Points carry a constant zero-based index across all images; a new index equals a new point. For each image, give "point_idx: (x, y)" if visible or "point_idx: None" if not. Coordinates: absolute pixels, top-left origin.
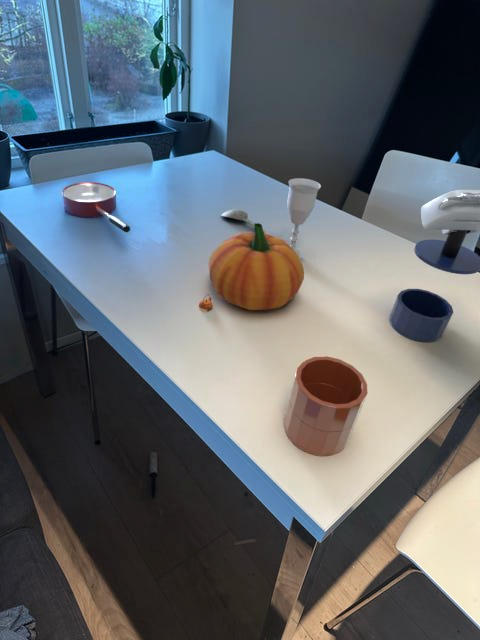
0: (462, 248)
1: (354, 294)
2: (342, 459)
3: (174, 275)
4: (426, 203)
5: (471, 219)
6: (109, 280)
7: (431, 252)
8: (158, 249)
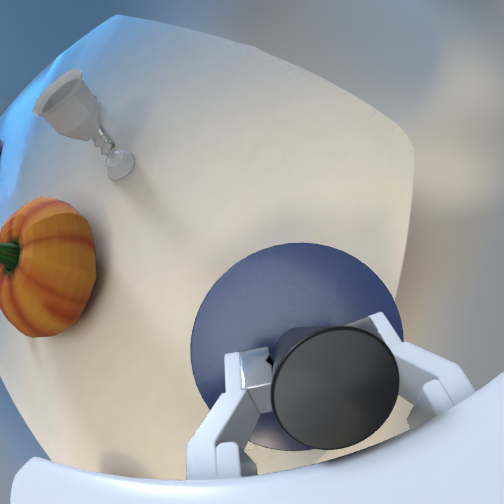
0: (364, 288)
1: (197, 243)
2: None
3: None
4: (11, 498)
5: None
6: None
7: None
8: (6, 210)
